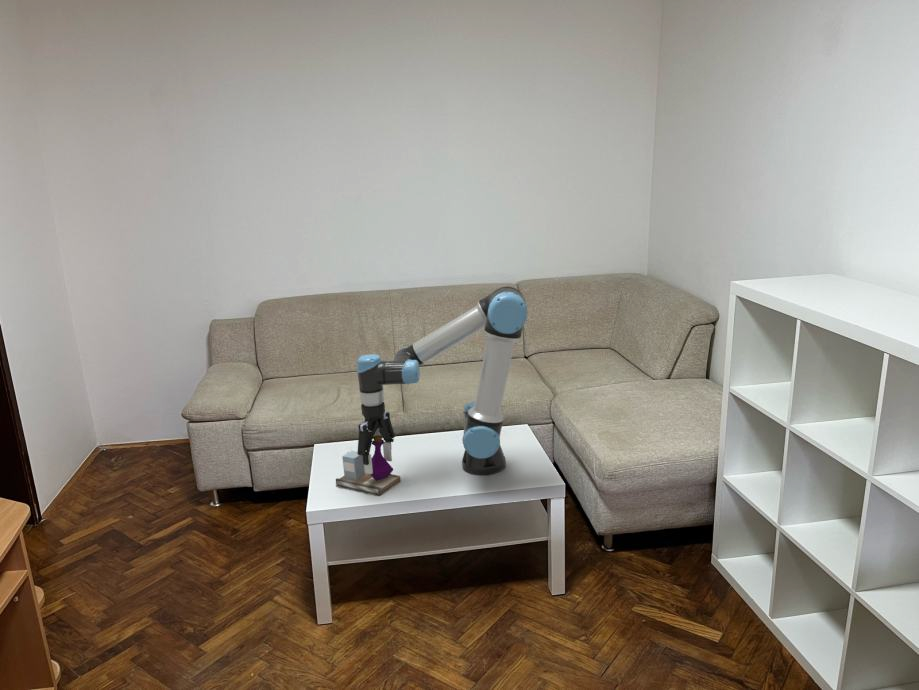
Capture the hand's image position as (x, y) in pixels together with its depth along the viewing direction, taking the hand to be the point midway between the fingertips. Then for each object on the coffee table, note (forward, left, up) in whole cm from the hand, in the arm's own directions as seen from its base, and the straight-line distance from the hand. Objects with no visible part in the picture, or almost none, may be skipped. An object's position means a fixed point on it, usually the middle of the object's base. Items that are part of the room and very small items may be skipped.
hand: (378, 466), depth 237 cm
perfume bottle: (0, 0, -4) cm, 4 cm away
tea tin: (+10, +1, -5) cm, 11 cm away
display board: (+5, 0, -7) cm, 9 cm away
